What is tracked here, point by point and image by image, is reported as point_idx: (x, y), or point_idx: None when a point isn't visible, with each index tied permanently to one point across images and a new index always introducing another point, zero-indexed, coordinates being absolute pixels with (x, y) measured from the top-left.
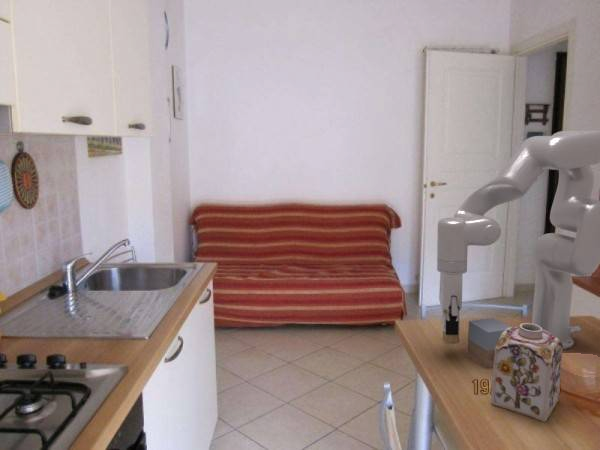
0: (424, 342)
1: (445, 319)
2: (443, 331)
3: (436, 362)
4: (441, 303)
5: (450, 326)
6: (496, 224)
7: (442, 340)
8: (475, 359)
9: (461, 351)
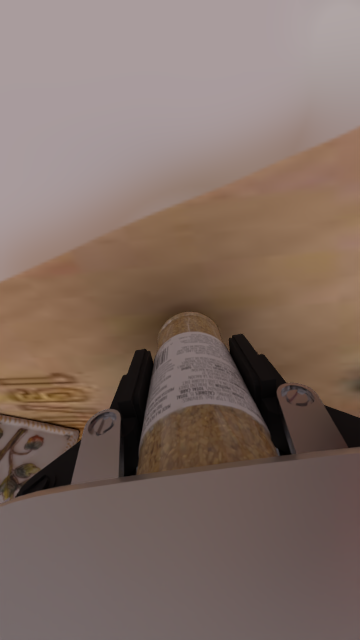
0: (274, 228)
1: (155, 391)
2: (176, 335)
3: (124, 284)
4: (9, 603)
5: (116, 400)
6: None
7: (179, 314)
8: None
9: (226, 344)
